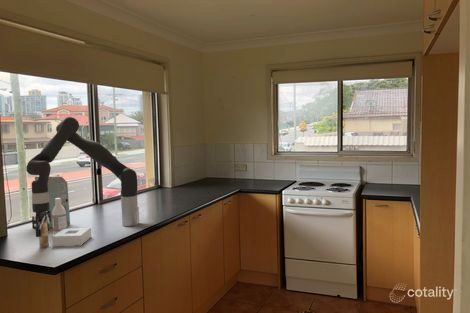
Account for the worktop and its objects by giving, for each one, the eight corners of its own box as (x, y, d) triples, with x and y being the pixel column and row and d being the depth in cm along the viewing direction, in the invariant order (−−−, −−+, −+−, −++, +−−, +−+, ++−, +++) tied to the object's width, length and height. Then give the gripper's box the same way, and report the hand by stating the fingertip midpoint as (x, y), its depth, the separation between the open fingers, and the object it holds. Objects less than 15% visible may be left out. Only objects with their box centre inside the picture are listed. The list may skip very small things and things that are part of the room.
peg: (50, 245, 189) (48, 221, 188) (46, 248, 185) (44, 223, 184) (42, 245, 189) (40, 221, 188) (38, 248, 185) (36, 224, 184)
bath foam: (53, 233, 210) (51, 197, 208) (67, 232, 213) (64, 196, 211) (53, 237, 204) (50, 200, 202) (67, 235, 206) (65, 198, 205)
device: (70, 224, 229) (67, 175, 226) (61, 228, 222) (57, 176, 219) (48, 223, 234) (44, 174, 231) (38, 226, 226) (34, 176, 224)
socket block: (91, 237, 202) (90, 227, 201) (81, 245, 188) (80, 235, 187) (64, 238, 201) (63, 228, 201) (52, 246, 187) (51, 236, 187)
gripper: (41, 204, 178) (43, 238, 180) (55, 198, 193) (57, 230, 194) (25, 204, 178) (27, 238, 180) (40, 198, 192) (42, 230, 194)
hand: (42, 234), depth 187 cm, fingers open, 8 cm apart
